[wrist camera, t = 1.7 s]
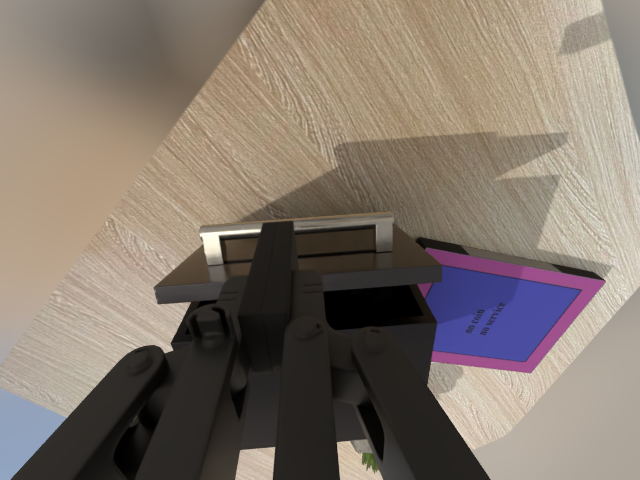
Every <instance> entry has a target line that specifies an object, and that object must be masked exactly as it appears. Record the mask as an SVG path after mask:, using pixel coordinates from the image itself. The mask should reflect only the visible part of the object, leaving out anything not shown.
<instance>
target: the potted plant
mask: <svg viewBox="0 0 640 480" xmlns="http://www.w3.org/2000/svg"><path fill="white" fill-rule="evenodd" d="M350 442H351V444H352V445H353V447H354V449H355V450H356V452H358V453H359V452H360V453H361V452H363V453H362V454H363V456H362V465H364V463H365V465H366V463H367V469H368V467H369V468H370V465H371V466H372V469H373V470H374V473H375V470H376V472H377V470H379V468H378V465H377V463H376V460H375V458H374V455H373V453H372V451H371V448H370V446H369V443H368V441H367V439H365V440H353V441H350ZM379 471H380V470H379ZM380 473H381V472H380Z"/></svg>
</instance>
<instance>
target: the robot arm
mask: <svg viewBox="0 0 640 480" xmlns="http://www.w3.org/2000/svg"><path fill="white" fill-rule="evenodd" d="M185 321H186V324H187V327H188V329H189V332H190V335H191V337H192V342H191V344H190V345H188V346H185V347H183V348H180V349H177V350H174V351H171V352H168V353H165V354H164V352H163V350H162V349H161V348H160V347H158V346H155V345H150V346H143V347H140V348H137V349H135V350H133V351H131V352H130V353H128V354H127V355H125V356H124V357H123V358H122V359H121V360H120V361H119V362H118V363H117V364H116V365H115V366H114V367H113V368H112V369H111V371H110V372H109V373H108V374H107V375H106V376H105V377H104V378H103V379H102V380H101V381H100V383H99V384H98V385H97V386H96V387H95V388H94V389H93V390H92V391H91V392H90V393H89V395H88V396H87V397H86V398H85V399H84V400H83V401H82V402H81V403H80V404H79V406H78V407H77V408H76V409H75V410H74V411H73V412H72V413H71V414H70V415H69V416H68V418H67V419H66V420H65V421H64V422H63V423H62V424H61V425H60V426H59V427H58V428H57V430H56V431H55V432H54V433H53V434H52V435H51V436H50V437H49V438H48V439H47V440H46V442H45V443H44V444H43V445H42V446H41V447H40V448H39V449H38V450H37V451H36V452H35V454H34V455H33V456H32V457H31V458H30V459H29V460H28V461H27V462H26V463H25V464H24V466H23V467H22V468H21V469H20V470H19V471H18V472H17V473H16V474H15V475H14V476H13V478H12V479H11V480H235V476H236V470H237V464H238V459H239V453H240V447H241V441H242V435H243V429H244V423H245V417H246V411H247V405H248V399H249V393H250V385H249V381H248V374H249V368H251V372H252V376H256V375H268V374H280V373H281V383H280V396H279V408H278V421H277V434H276V446H275V459H274V471H273V480H340V475H339V464H338V452H337V440H336V429H335V417H334V405H333V399H334V400H338V401H342V402H346V403H350V404H353V407H354V409H355V411H356V414H357V416H358V419H359V421H360V424H361V426H362V429H363V431H364V433H365V436H366V438H367V441H368V443H369V446H370V448H371V451H372V453H373V455H374V458H375V460H376V463H377V465H378V468H379V470H380V472H381V475H382V477H383V480H490V478H489V476H488V475H487V474H486V472H485V471H484V469H483V468H482V466H481V465H480V463H479V462H478V460H477V459H476V457H475V456H474V455H473V453H472V451H471V450H470V448H469V447H468V445H467V444H466V443H465V441H464V440H463V438H462V437H461V435H460V434H459V432H458V431H457V429H456V428H455V426H454V425H453V423H452V422H451V420H450V419H449V417H448V416H447V414H446V413H445V412H444V410H443V409H442V407H441V406H440V404H439V403H438V401H437V400H436V398H435V397H434V395H433V394H432V392H431V391H430V389H429V388H428V386H427V385H426V384H425V382H424V381H423V379H422V378H421V376H420V375H419V373H418V372H417V370H416V369H415V367H414V366H413V364H412V363H411V361H410V360H409V358H408V357H407V355H406V354H405V353H404V351H403V350H402V348H401V347H400V345H399V344H398V342H397V341H396V339H395V338H394V337H393V336H392V335H391V334H390V333H389V332H388V331H386V330H384V329H382V328H379V327H373V326H371V327H364V328H362V329H359V330H357V331H356V332H355V333H354V334H353V335H348V334H344V333H340V332H338V331H336V330H334V329H333V328H331V327H330V326H329V324H328V323H327V321H326V315H325V304H324V293H323V282H322V275H321V274H320V272H319V271H318V270H317V269H304V270H299V265H298V257H297V248H296V239H295V231H294V222H293V221H281V222H267V223H263V224H262V228H261V231H260V235H259V239H258V242H257V246H256V249H255V253H254V257H253V260H252V264H251V267H250V271H249V275H238V276H231V277H230V278H229V279H228V280H227V281H226V282H225V283H224V284H223V287H222V289H221V292H220V294H219V297H218V301H217V302H216V304H208V305H204V306H202V307H200V308H197V309H196V310H194V311H193V312H192V313H190V314H189V316H188V317H187V318H186V320H185ZM136 416H137V417H136ZM133 420H134V421H133Z"/></svg>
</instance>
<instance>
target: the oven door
mask: <svg viewBox="0 0 640 480" xmlns="http://www.w3.org/2000/svg"><path fill="white" fill-rule="evenodd" d="M281 221H293V222H294V231H295V239H296V248H297V257H298V265H299V270H304V269H317V270H318V271H319V272H320V274H321V275H322V282H323V291H335V290H348V289H361V288H374V287H386V286H399V285H412V284H425V283H438V282H442V264H441V263H440V262H438V261H437V260H436V259H435V258H434V257H433V256H431V255H430V254H429V253H428V252H427V251H426V250H424V249H423V248H422V247H421V246H420V245H419V244H418V243H416V242H415V241H414V240H413V239H412V238H411V237H409V236H408V235H407V234H406V233H405V232H404V231H403V230H401V229H400V228H399V227H398V226H397V225H396V224H394V223H395V219H394V214H393V212H392V211H384V212H371V213H358V214H345V215H332V216H319V217H306V218H292V219H279V220H266V221H253V222H240V223H227V224H213V225H202V226H201V227H200V230H199V234H200V239H201V241H202V242H203V245H202V246H201V247H200V248H198V249H197V250H196V251H195V252H194V253H193V254H192V255H190V256H189V257H188V258H187V259H186V260H185V261H183V262H182V263H181V264H180V265H179V266H178V267H177V268H175V269H174V270H173V271H172V272H171V273H170V274H169V275H167V276H166V277H165V278H164V279H163V280H162V281H160V282H159V283H158V284H157V285H156V286H155V287H154V291H155V295H156V299H157V303H158V304H169V303H182V302H194V301H207V300H218V297H219V294H220V292H221V289H222V287H223V284H224V283H225V282H226V281H227V280H228V279H229V278H230V277H231V276H238V275H249V271H250V267H251V264H252V260H253V257H254V253H255V249H256V246H257V242H258V239H259V235H260V231H261V228H262V224H263V223H267V222H281Z"/></svg>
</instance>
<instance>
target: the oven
mask: <svg viewBox="0 0 640 480" xmlns="http://www.w3.org/2000/svg"><path fill="white" fill-rule="evenodd" d="M323 293H324V304H325V315H326V321H327V323H328V324H329V326H330V327H331V328H333V329H334V330H336V331H338V332H340V333H344V334H348V335H353V334H354V333H355V332H356V331H357V330H359V329H362V328H364V327H371V326H373V327H379V328H382V329H384V330H386V331H388V332H389V333H390V334H391V335H392V336H393V337H394V338H395V339H396V341H397V342H398V344H399V345H400V347H401V348H402V350H403V351H404V353H405V354H406V355H407V357H408V358H409V360H410V361H411V363H412V364H413V366H414V367H415V369H416V370H417V372H418V373H419V375H420V376H421V378H422V379H423V381H424V382H425V384H426V385H427V383H428V377H429V371H430V365H431V359H432V353H433V347H434V341H435V335H436V329H437V323H438V322H437V320H436V318H435V317H434V315H433V313H432V311H431V309H430V308H429V306H428V304H427V302H426V300H425V298H424V296H423V294H422V292H421V291H420V289H419V287H418V285H417V284H412V285H399V286H386V287H374V288H361V289H348V290H335V291H323ZM217 301H218V300H207V301H194V302H191V304H190V306H189V308H188V310H187V312H186V314H185V316H184V318H183V320H182V322H181V324H180V326H179V328H178V330H177V332H176V334H175V336H174V338H173V340H172V342H171V345H172V348H173V350H177V349H180V348H183V347H185V346H188V345H190V344H191V342H192V337H191V335H190V332H189V329H188V327H187V324H186V321H185V320H186V318H187V317H188V316H189V314H190V313H192V312H193V311H194V310H196V309H197V308H200V307H202V306H204V305H208V304H216V302H217ZM248 381H249V385H250V393H249V399H248V405H247V411H246V417H245V423H244V429H243V435H242V441H241V447H240V450H244V449H256V448H268V447H275V446H276V434H277V421H278V408H279V396H280V383H281V373H280V374H268V375H256V376H252V372H251V368H249V374H248ZM333 405H334V417H335V429H336V440H337V442H341V441H353V440H365V439H367V438H366V436H365V433H364V431H363V429H362V426H361V424H360V421H359V419H358V416H357V414H356V411H355V409H354V407H353V404H350V403H346V402H342V401H338V400H334V399H333Z"/></svg>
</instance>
